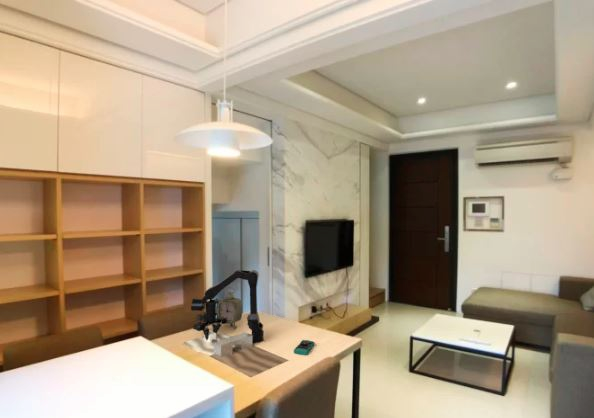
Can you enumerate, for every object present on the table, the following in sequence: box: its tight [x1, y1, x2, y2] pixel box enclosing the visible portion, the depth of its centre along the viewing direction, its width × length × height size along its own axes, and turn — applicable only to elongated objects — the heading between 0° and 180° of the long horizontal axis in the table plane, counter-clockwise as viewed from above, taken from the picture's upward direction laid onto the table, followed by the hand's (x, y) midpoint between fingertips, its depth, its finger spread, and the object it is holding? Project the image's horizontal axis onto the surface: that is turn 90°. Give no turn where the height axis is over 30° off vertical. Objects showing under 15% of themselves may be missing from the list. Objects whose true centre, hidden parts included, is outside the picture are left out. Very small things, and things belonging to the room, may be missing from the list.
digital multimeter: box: [293, 339, 315, 356], centre depth 186 cm, size 7×15×3 cm, turn 161°
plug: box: [203, 330, 226, 343], centre depth 191 cm, size 4×19×4 cm, turn 47°
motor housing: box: [214, 332, 253, 359], centre depth 180 cm, size 20×6×6 cm, turn 138°
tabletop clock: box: [216, 286, 243, 330], centre depth 220 cm, size 14×9×25 cm, turn 68°
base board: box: [182, 331, 290, 378], centre depth 180 cm, size 24×57×1 cm, turn 48°
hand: (210, 338), depth 194 cm, fingers closed on plug, 4 cm apart
